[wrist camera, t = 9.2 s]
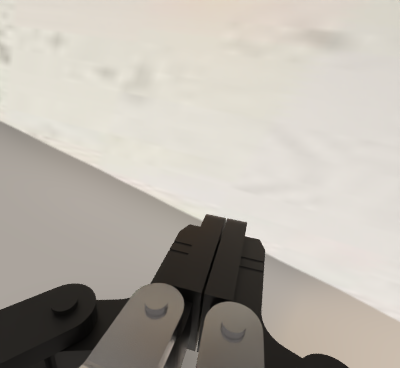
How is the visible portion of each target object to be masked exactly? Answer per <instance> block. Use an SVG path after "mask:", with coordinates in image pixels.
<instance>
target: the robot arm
mask: <svg viewBox="0 0 400 368" xmlns="http://www.w3.org/2000/svg"><path fill="white" fill-rule="evenodd" d="M246 226H247V222H242V221H237V220H233V219H227V221H226V218H223V217H218V216H213V215H208V214H206V216H205V218H204V220H203V222H202V225H201V227H199V226H194V225H188V226H187V227H185V228H184V229H183V230H181V231H180V232H179V234H178V235H177V237H176V239H175V241H174V243H173V244H172V246H171V248H170V251H168V253H167V255H166V257H165V259H164V260H163V262H162V264H161V266H160V268H159V269H158V271H157V273H156V275H155V277H154V278H153V280H152V282H151V284H148V285H145V286H143V287H141V288H140V289H138V290H137V291H136V292H135V293H134V294H133V295H132V296H131V297H130V298H127V299H119V300H96V296H95V293H94V292H93V290H92V289H91V288H89V287H87V286H85V285H83V284H67V285H62V286H60V287H57V288H54V289H52V290H49V291H47V292H44V293H42V294H39V295H37V296H34V297H32V298H29V299H26V300H24V301H22V302H19V303H16V304H14V305H12V306H9V307H6V308H4V309H1V310H0V368H181V365H182V362H183V359H184V355H185V352H186V349H190V350H193V351H195V349H196V345H197V341H198V338H199V341H198V349H197V352H199V353H198V358H197V364H196V368H348V367H347V366H346V365H345V364H343V363H342V362H340V361H339V360H337V359H335V358H333V357H330V356H328V355H323V354H310V355H307V356H305V357H304V358H301V357H299V356H298V355H296V354H295V353H293V352H291V351H290V350H288V349H286V348H285V347H283V346H282V345H280V344H279V343H278V342H277V341H276V340H275V339H274V338H272V336H271V335H270V334H269V332H268V331H267V330H266V328H265V326H264V323H263V321H262V316H261V306H262V291H263V275H264V274H263V273H264V260H265V249H264V247H263V245H262V243H261V241H260V240H259V239H254V238H250V237H245V232H246Z"/></svg>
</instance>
